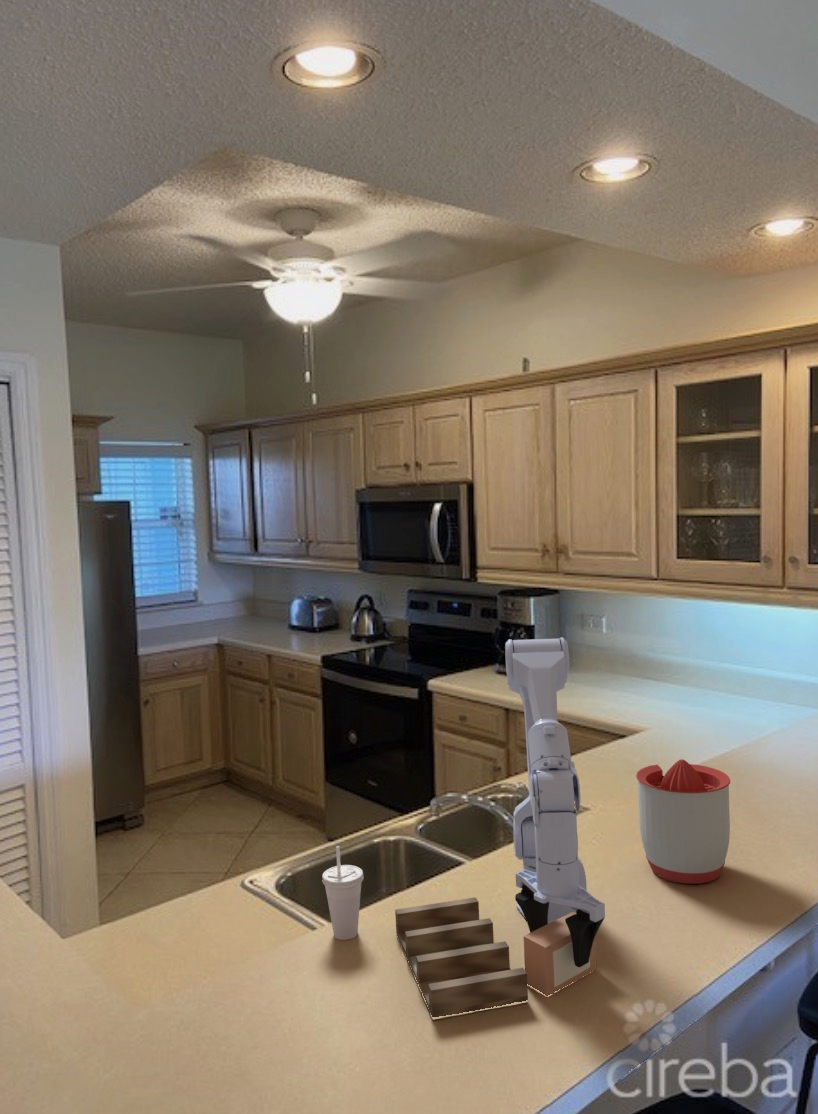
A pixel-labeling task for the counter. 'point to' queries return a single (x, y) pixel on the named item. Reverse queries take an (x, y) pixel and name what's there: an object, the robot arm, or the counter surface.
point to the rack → (458, 958)
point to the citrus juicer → (684, 821)
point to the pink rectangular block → (553, 957)
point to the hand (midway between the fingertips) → (560, 952)
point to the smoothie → (343, 897)
